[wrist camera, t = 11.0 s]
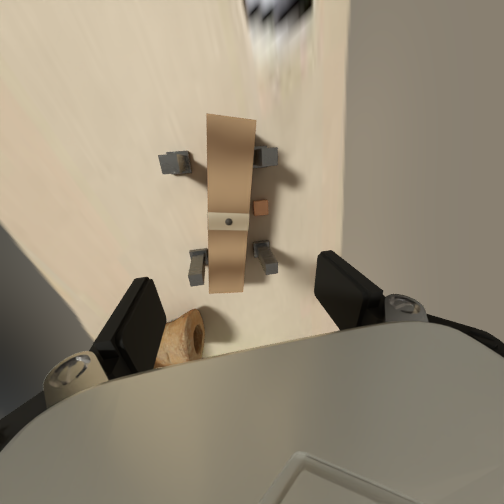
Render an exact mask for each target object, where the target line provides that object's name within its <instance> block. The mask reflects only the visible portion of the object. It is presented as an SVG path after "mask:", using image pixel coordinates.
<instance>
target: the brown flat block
mask: <svg viewBox="0 0 504 504" xmlns="http://www.w3.org/2000/svg"><path fill="white" fill-rule="evenodd" d="M253 206H254V216H259V215H268V200H258V201H253Z"/></svg>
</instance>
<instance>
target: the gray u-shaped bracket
mask: <svg viewBox="0 0 504 504" xmlns="http://www.w3.org/2000/svg"><path fill="white" fill-rule="evenodd" d="M166 153H167V155H158V157H159V161H160V165H161V169H162V173H163V174H183V173H192V170H191V164H190V159H189V154H188V151H178V152H166ZM275 165H278V147H276V148H267V146H257V147H254V157H253V168H259V167H267V166H275Z"/></svg>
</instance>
